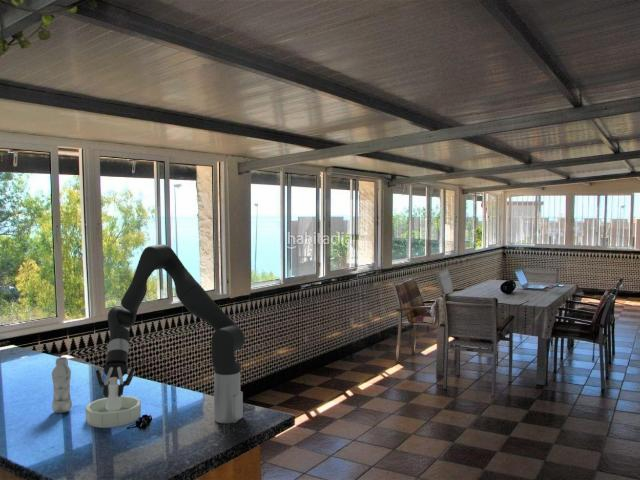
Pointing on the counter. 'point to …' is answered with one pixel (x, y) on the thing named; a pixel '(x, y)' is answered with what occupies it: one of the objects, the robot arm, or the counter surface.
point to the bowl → (113, 413)
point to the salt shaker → (113, 395)
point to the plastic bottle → (61, 386)
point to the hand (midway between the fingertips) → (112, 396)
